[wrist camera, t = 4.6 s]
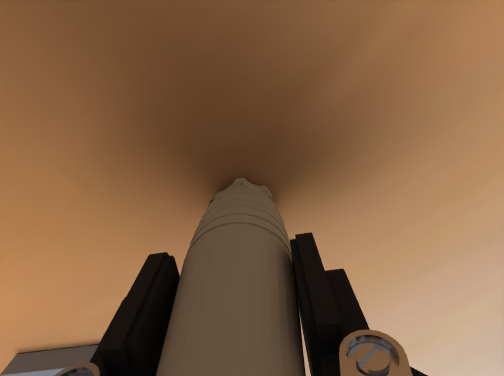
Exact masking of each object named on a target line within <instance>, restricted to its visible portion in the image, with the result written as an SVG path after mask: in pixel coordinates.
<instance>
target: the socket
mask: <svg viewBox="0 0 504 376" xmlns="http://www.w3.org/2000/svg"><path fill="white" fill-rule="evenodd" d="M97 347H98V345H90V346H82V347H74V348H65V349H57V350H48V351H40V352H31V353H23V354H17V355H16V356H15V357H14V358H13V360H12V361H11V362H10V363H9V364H8V366H7V367H6V368H5V369H4V371H3V372H2V373H1V374H0V376H55V375H56V374H57V373H58V372H60V371H62V370H63V369H65V368H67V367H69V366H71V365H74V364H77V363H82V362H90V360H91V358H92V356H93V354H94V352H95V351H96V349H97Z"/></svg>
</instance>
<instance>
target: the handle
mask: <svg viewBox="0 0 504 376" xmlns="http://www.w3.org/2000/svg"><path fill="white" fill-rule="evenodd" d="M272 200H273V196H272V194H271V192H270V191H269V189H268V188H267V187H266V186H265V185H261V186H259V185H254V184H252V183H250V182H248V181H247V180H246V178H236V179H235V181H234V182H233V184H232V185H231V186H229V187H228V188H227V189H225V190H223V191H219V192H217V193H216V194H215V195H214V196H213V197H212V199H211V201H210V203H209V205H208V208H207V210H206V211H205V213H204V215H203V217H202V219H201V221H200V223H199V225H198V227H197V229H196V232H195V234H194V236H193V238H192V241H191V244H190V247H189V249H188V252H187V255H186V258H185V260H184V264H183V267H182V271H181V276H180V280H179V284H178V288H177V292H176V296H175V300H174V304H173V309H172V313H171V317H170V321H169V325H168V329H167V333H166V337H165V342H164V346H163V350H162V354H161V357H160V361H159V365H158V369H157V373H156V376H306V374H305V365H304V356H303V346H302V335H301V325H300V315H299V304H298V294H297V286H296V279H295V273H294V267H293V261H292V253H291V246H290V242H289V238H288V235H287V232H286V229H285V226H284V223H283V220H282V218H281V215H280V213H279V211H278V209H277V208H276V206H275V205H274V203H273V202H272Z"/></svg>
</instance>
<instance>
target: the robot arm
mask: <svg viewBox="0 0 504 376" xmlns="http://www.w3.org/2000/svg"><path fill="white" fill-rule="evenodd" d="M295 236H296V239H292V240H290V246H291V253H292V261H293V267H294V273H295V279H296V286H297V294H298V304H299V312H300V318H301V324H302V329H303V335H304V340H305V346H306V351H307V357H308V362H309V368H310V374H311V376H427V375H425V374H423V373H422V372H420V371H418V370H416V369H414V368H412V367H410V365H409V362H408V359H407V355H406V353H405V351H404V349H403V347H402V346H401V345H400V344H399V343H398V342H397V341H396V340H395V339H393V338H392V337H390V336H389V335H387V334H385V333H382V332H379V331H375V330H370V329H369V327H368V324H367V322H366V320H365V317H364V315H363V313H362V310H361V308H360V306H359V303H358V301H357V299H356V296H355V294H354V292H353V289H352V287H351V285H350V282H349V280H348V278H347V275H346V273H345V271H344V269H336V270H328V271H325V270H324V267H323V264H322V261H321V258H320V255H319V252H318V249H317V246H316V243H315V240H314V237H313V234H312V233H304V234H297V235H295ZM179 280H180V275H179V272H178V269H177V265H176V262H175V258H174V257H173V256H169V255H168V253H167V252H164V253H157V254H150V255H149V256H148V258H147V260H146V261H145V263H144V265H143V267H142V269H141V271H140V272H139V274H138V276H137V278H136V280H135V282H134V284H133V285H132V287H131V289H130V291H129V293H128V295H127V297H125V298H124V300H123V301H122V303H121V305H120V307H119V308H118V310H117V312H116V314H115V316H114V318H113V319H112V321H111V323H110V325H109V327H108V329H107V330H106V332H105V334H104V336H103V338H102V340H101V341H100V343H99V345H98V347H97V349H96V351H95V352H94V354H93V356H92V358H91V360H90V362H82V363H77V364H74V365H71V366H69V367H67V368H65V369H63V370H62V371H60V372H58V373H57V374H56V375H55V376H156V373H157V369H158V365H159V361H160V357H161V354H162V350H163V346H164V342H165V337H166V333H167V329H168V325H169V321H170V317H171V313H172V309H173V304H174V300H175V296H176V292H177V288H178V284H179Z"/></svg>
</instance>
